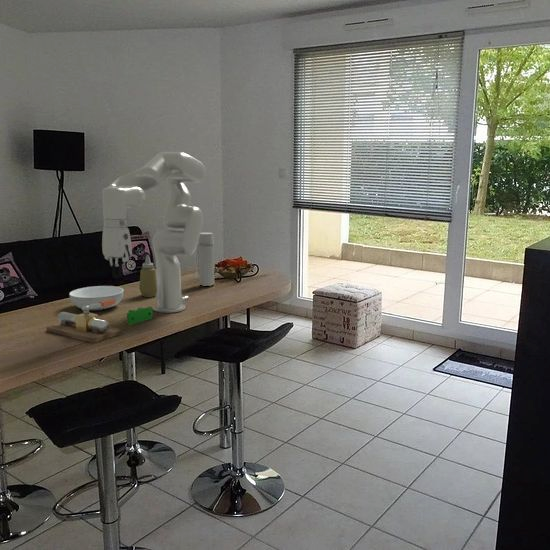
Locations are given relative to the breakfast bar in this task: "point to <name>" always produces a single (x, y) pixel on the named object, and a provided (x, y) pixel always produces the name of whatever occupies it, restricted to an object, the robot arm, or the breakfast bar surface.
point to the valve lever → (98, 305)
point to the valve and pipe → (84, 322)
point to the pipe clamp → (139, 315)
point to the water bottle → (206, 259)
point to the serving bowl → (96, 296)
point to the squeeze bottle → (148, 279)
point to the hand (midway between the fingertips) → (117, 277)
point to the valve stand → (82, 335)
